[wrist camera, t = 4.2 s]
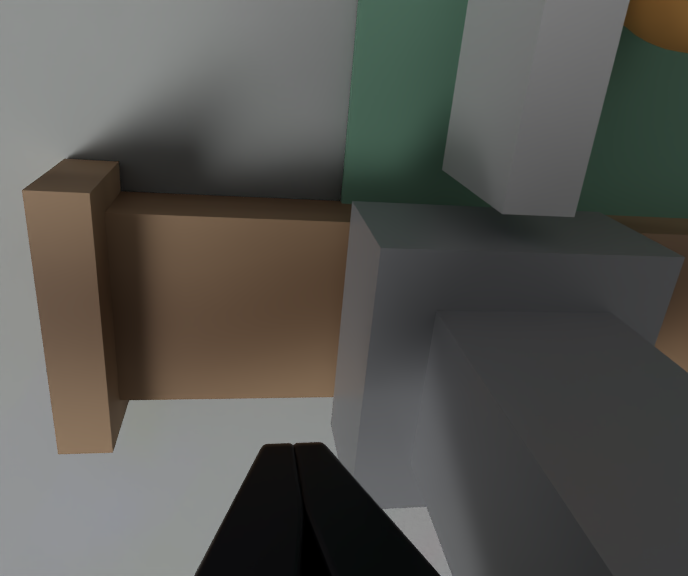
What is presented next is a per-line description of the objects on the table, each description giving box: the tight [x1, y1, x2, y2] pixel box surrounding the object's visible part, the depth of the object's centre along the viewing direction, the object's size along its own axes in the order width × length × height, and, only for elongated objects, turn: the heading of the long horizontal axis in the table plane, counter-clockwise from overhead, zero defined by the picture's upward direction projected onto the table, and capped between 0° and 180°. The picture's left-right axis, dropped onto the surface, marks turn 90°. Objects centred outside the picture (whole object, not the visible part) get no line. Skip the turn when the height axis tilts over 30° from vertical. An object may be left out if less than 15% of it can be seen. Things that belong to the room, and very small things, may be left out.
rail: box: [22, 159, 688, 454], centre depth 13 cm, size 5×23×2 cm, turn 85°
